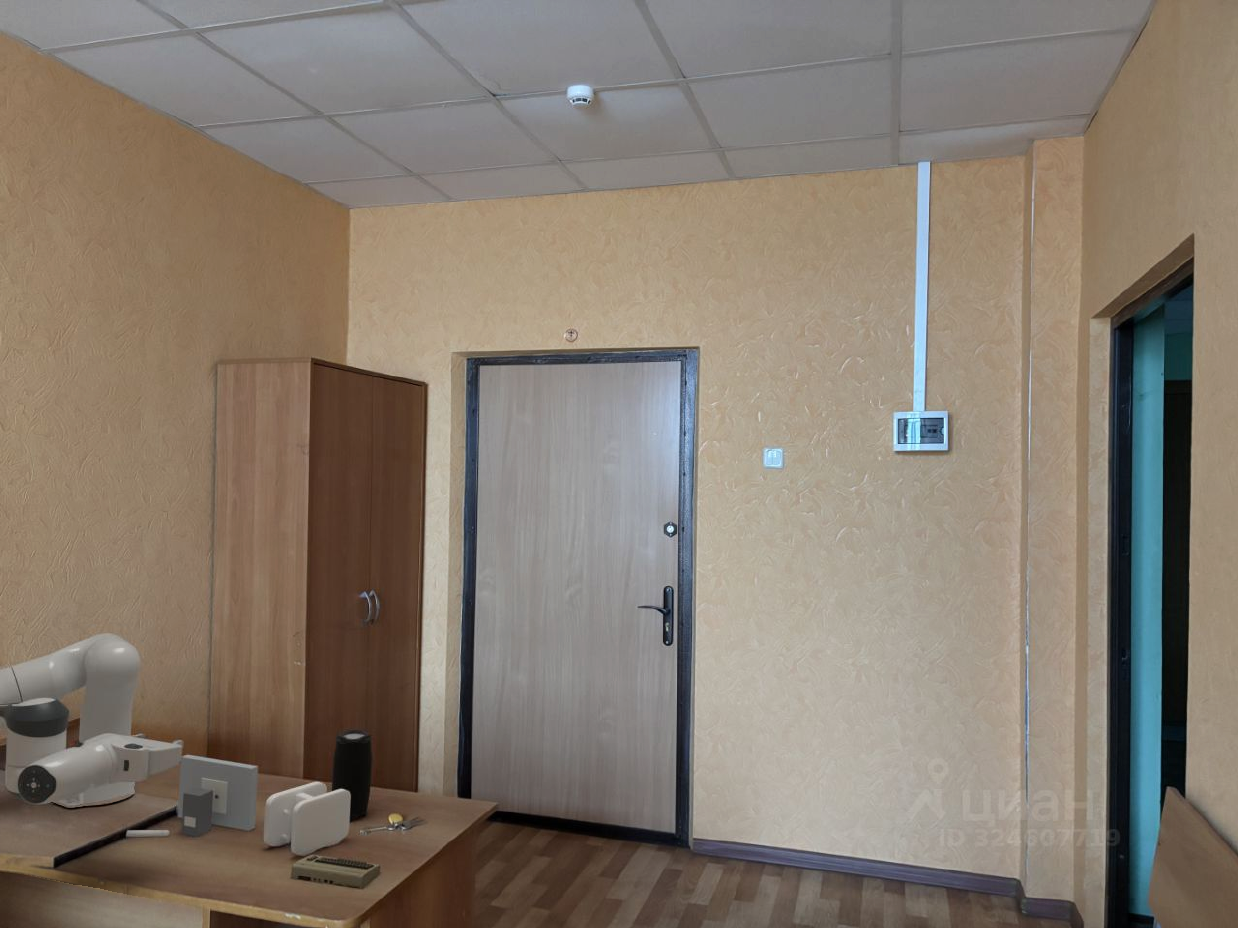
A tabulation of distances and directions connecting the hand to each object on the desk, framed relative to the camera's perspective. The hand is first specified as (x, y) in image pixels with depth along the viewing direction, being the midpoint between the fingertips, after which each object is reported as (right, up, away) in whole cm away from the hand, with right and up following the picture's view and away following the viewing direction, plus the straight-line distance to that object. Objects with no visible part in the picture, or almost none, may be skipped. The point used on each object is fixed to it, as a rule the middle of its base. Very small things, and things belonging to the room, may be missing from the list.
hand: (162, 740), depth 189 cm
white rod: (-8, -24, +8) cm, 26 cm away
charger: (+2, -24, +11) cm, 27 cm away
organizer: (+28, -25, +7) cm, 38 cm away
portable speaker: (+32, -26, +25) cm, 48 cm away
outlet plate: (+4, -24, +17) cm, 30 cm away
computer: (+39, -26, -7) cm, 47 cm away
